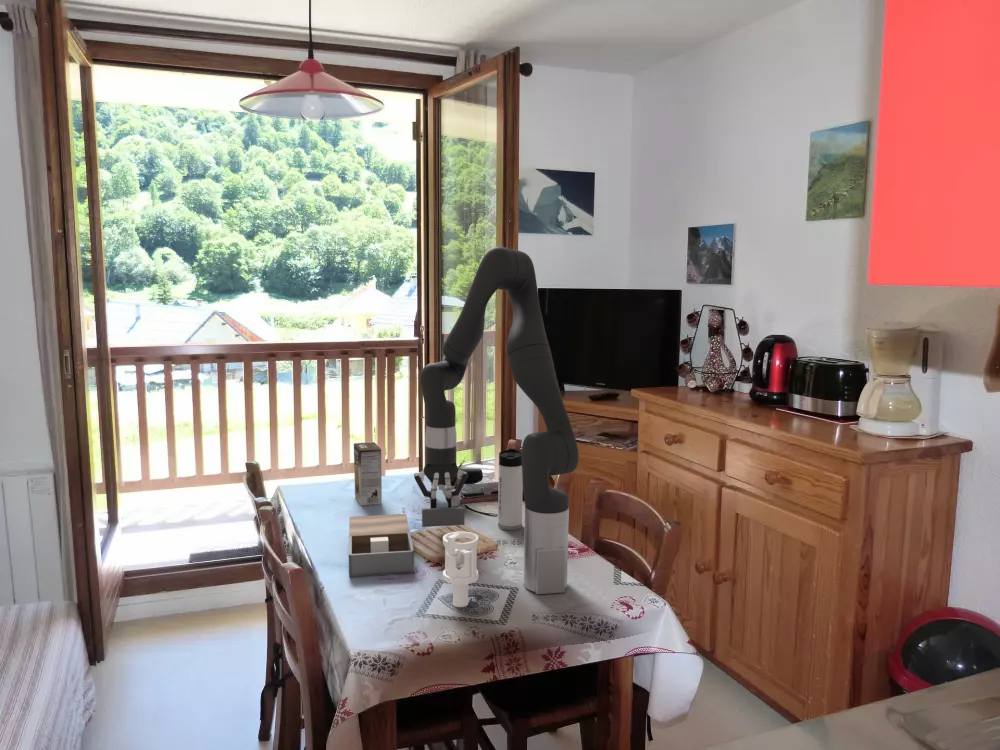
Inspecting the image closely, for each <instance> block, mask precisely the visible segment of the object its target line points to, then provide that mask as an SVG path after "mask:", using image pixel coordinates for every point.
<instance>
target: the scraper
mask: <svg viewBox="0 0 1000 750" xmlns="http://www.w3.org/2000/svg"><path fill="white" fill-rule="evenodd" d="M436 499H437V500H436V508H422V509H421V526H422V528H429V527H431V528H433V527H448V526H465V506H458V507H457V506H455V507H450V508H448V502H447V500H446V499H445V496H444V494H443V491H442V490H439V489H437V493H436Z"/></svg>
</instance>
